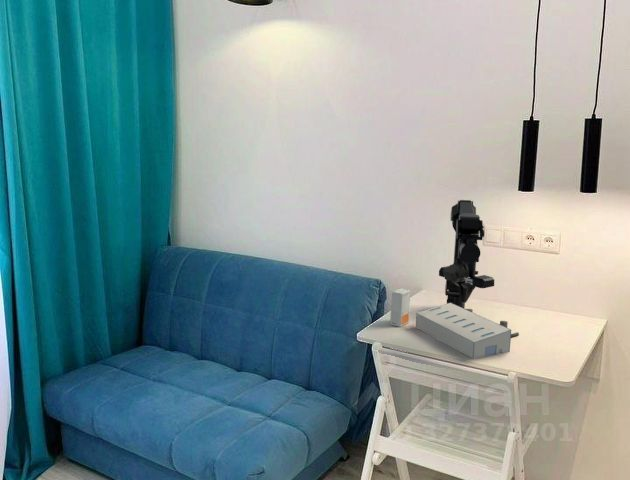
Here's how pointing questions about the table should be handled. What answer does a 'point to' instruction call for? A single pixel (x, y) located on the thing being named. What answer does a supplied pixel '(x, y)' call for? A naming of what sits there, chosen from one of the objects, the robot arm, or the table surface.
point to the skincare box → (400, 307)
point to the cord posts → (503, 323)
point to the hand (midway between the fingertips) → (464, 302)
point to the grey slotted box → (464, 330)
